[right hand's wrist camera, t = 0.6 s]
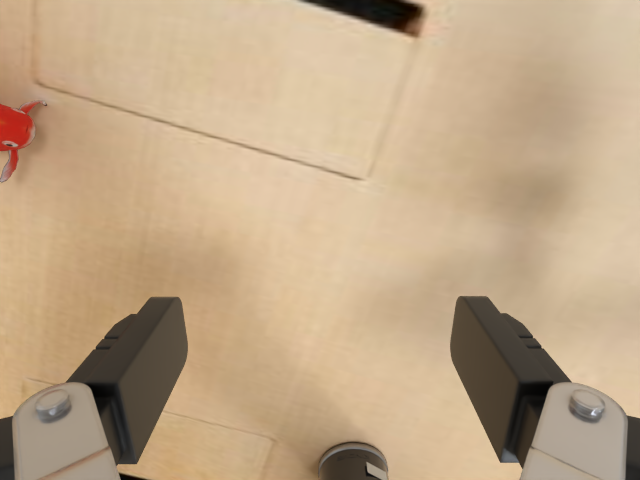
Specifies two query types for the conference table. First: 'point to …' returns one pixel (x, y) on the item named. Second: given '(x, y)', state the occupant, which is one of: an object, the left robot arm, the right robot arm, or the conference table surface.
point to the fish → (15, 133)
